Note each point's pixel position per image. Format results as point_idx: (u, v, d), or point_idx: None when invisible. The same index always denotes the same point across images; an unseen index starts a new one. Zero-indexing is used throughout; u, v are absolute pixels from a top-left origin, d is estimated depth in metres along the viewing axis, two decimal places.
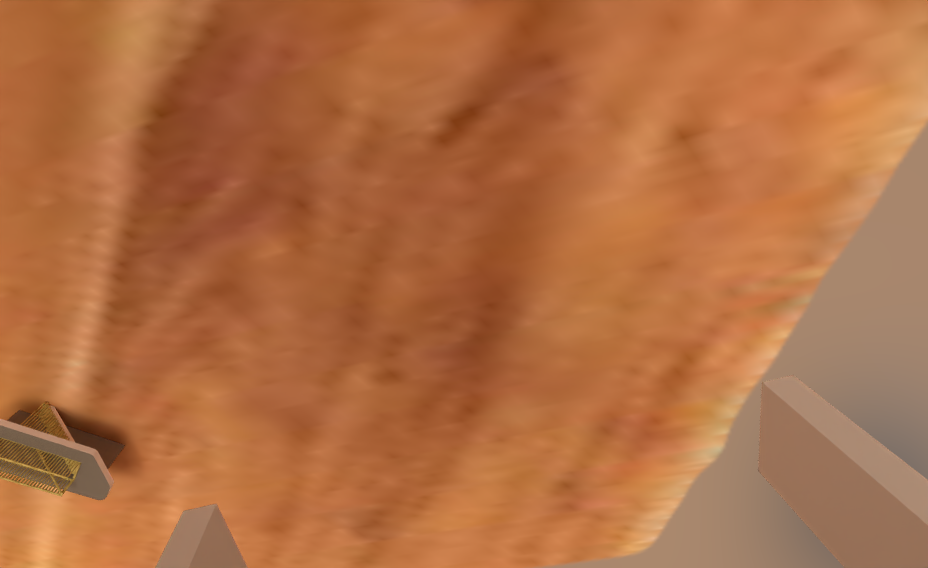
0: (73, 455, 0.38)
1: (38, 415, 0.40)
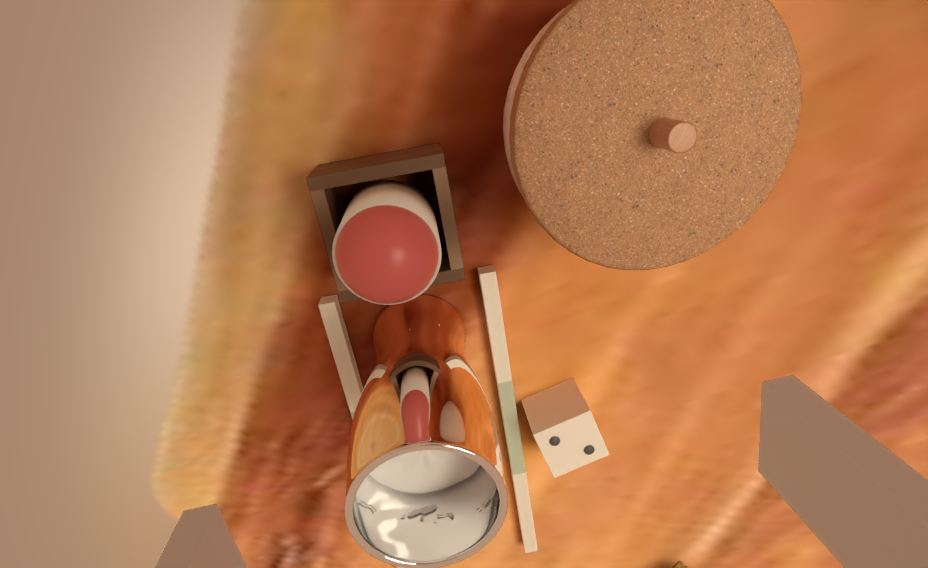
0: None
1: None
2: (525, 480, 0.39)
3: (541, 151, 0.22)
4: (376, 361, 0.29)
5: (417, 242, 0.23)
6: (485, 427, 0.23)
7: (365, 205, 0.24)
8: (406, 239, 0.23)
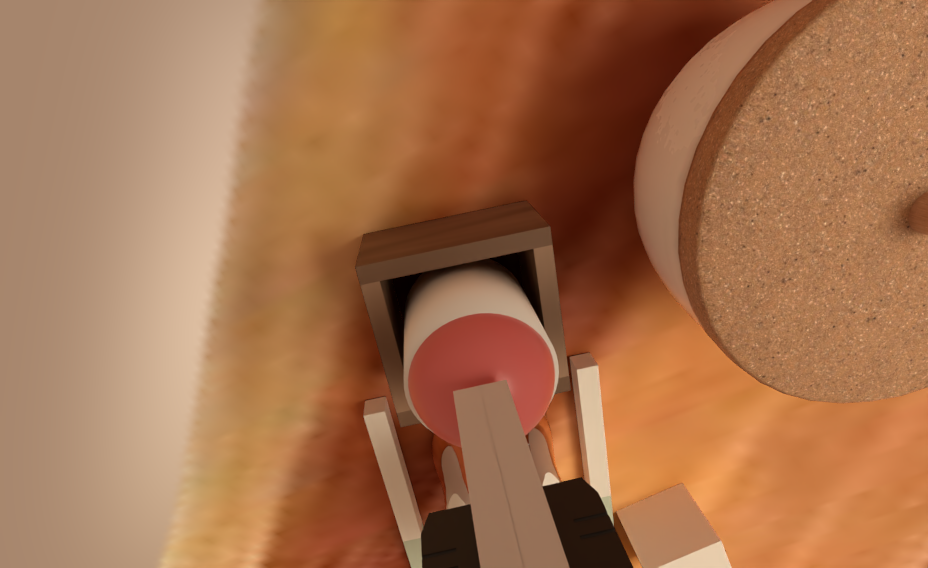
0: None
1: None
2: None
3: (741, 245, 0.14)
4: None
5: (535, 372, 0.15)
6: None
7: (453, 314, 0.16)
8: (520, 369, 0.15)
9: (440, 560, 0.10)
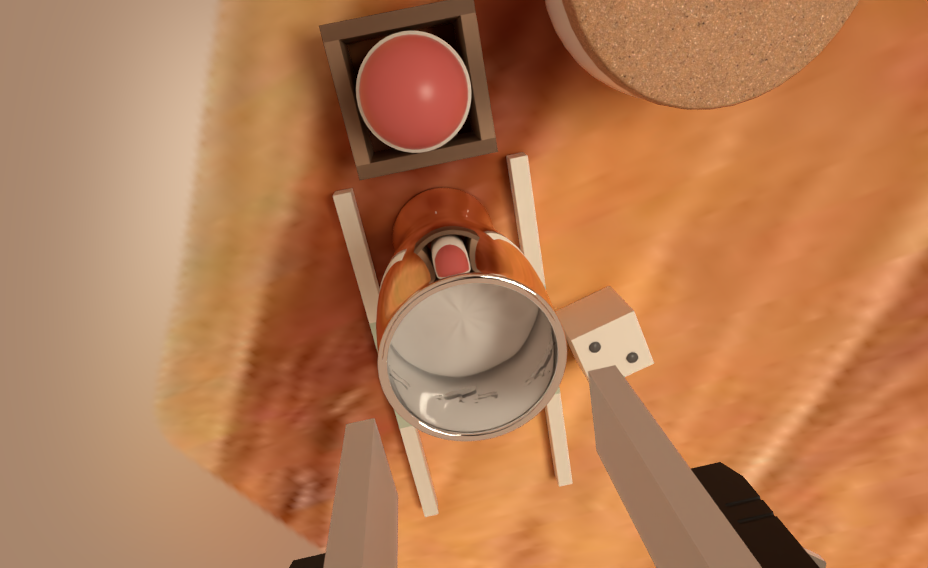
0: None
1: None
2: (559, 402, 0.36)
3: None
4: None
5: (448, 69, 0.22)
6: (535, 277, 0.20)
7: (390, 35, 0.22)
8: (436, 63, 0.21)
9: None
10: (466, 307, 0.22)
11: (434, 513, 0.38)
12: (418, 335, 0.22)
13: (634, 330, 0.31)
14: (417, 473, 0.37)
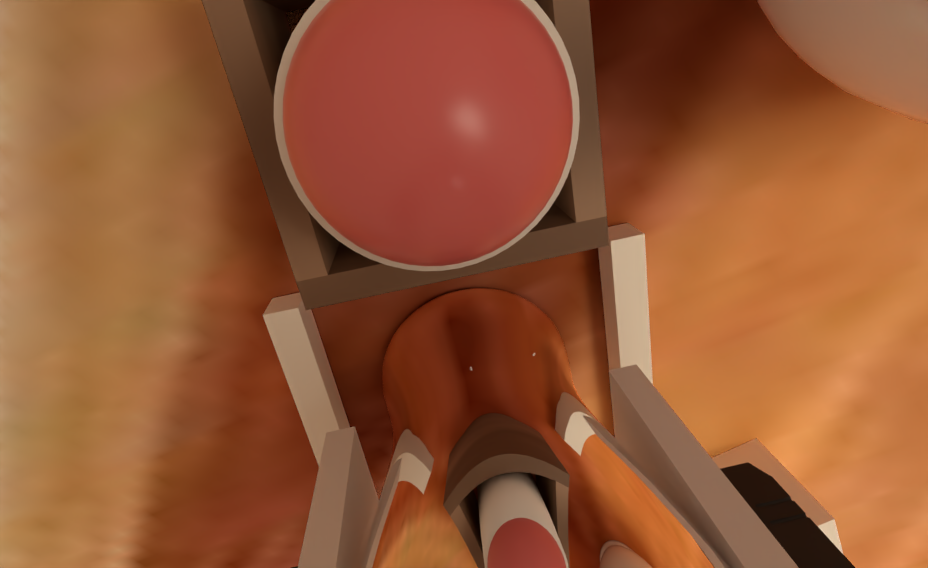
0: None
1: None
2: None
3: None
4: (396, 453, 0.12)
5: (535, 62, 0.07)
6: None
7: None
8: (502, 44, 0.07)
9: None
10: None
11: None
12: None
13: None
14: None
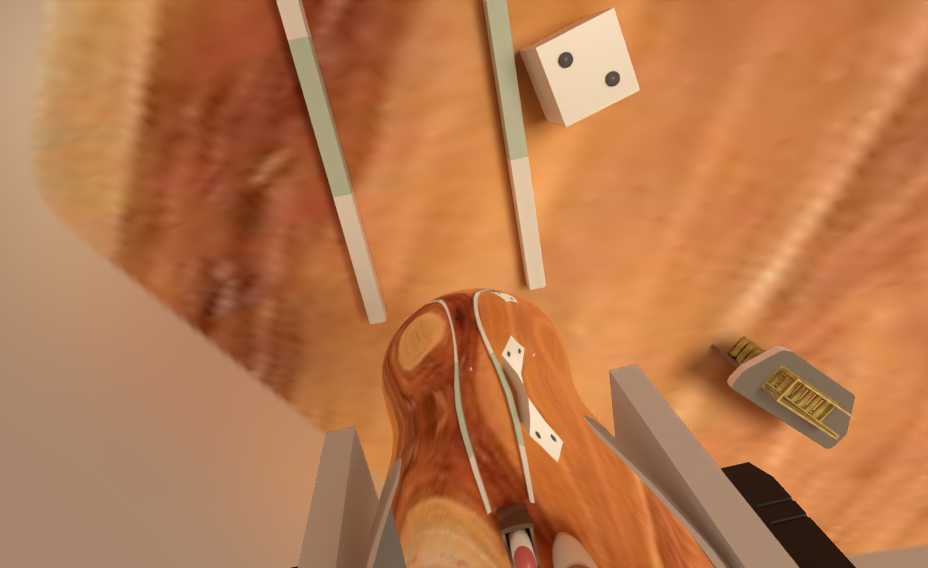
0: (837, 395, 0.34)
1: (763, 350, 0.35)
2: (527, 170, 0.30)
3: None
4: (396, 454, 0.12)
5: None
6: None
7: None
8: None
9: None
10: None
11: (381, 320, 0.32)
12: None
13: (614, 38, 0.25)
14: (358, 263, 0.31)
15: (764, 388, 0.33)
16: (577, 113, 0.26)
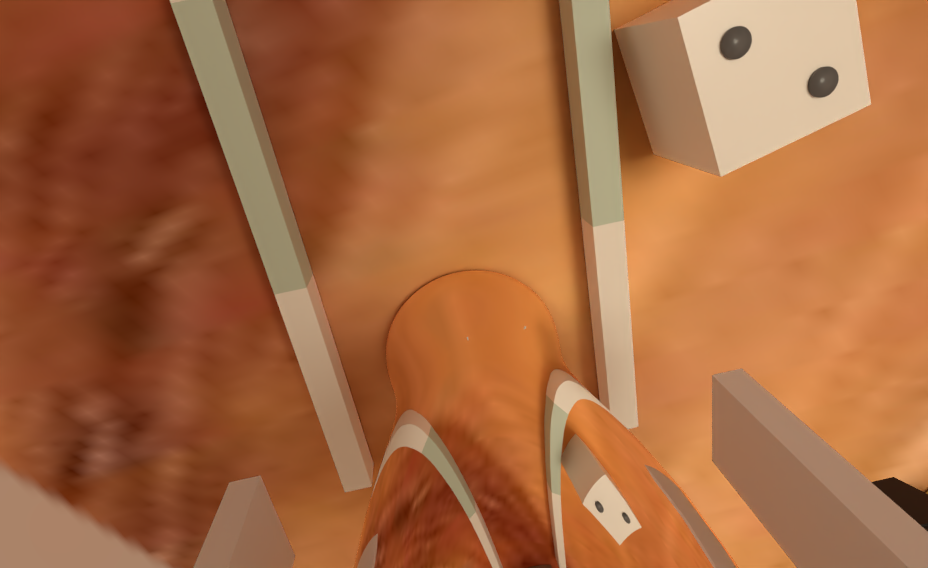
0: None
1: None
2: (622, 243, 0.17)
3: None
4: (400, 412, 0.13)
5: None
6: None
7: None
8: None
9: None
10: None
11: (363, 485, 0.19)
12: None
13: None
14: (322, 399, 0.18)
15: None
16: (745, 150, 0.13)
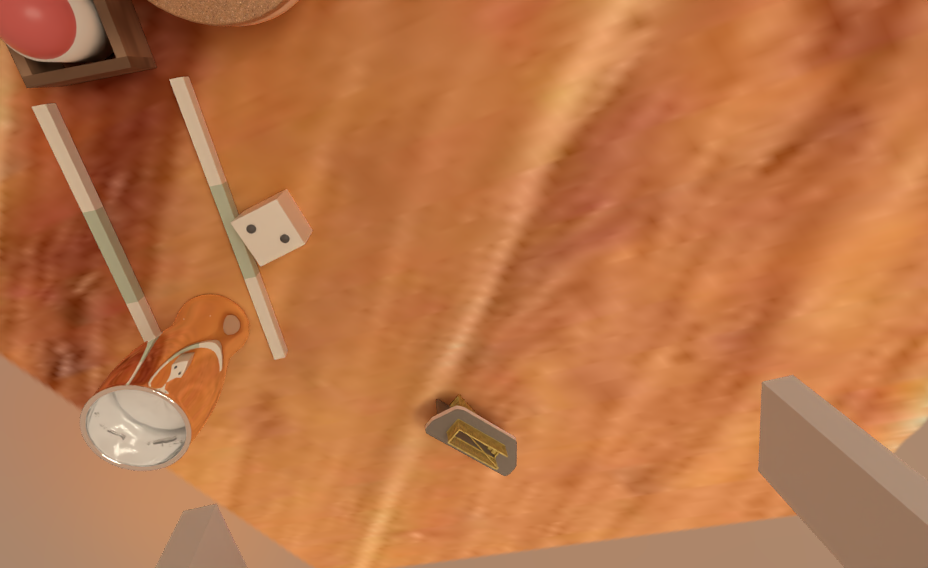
0: (503, 439, 0.50)
1: (464, 405, 0.51)
2: (257, 284, 0.45)
3: None
4: None
5: None
6: (185, 378, 0.35)
7: None
8: None
9: None
10: None
11: None
12: (138, 406, 0.37)
13: (281, 215, 0.40)
14: None
15: (447, 433, 0.48)
16: (266, 258, 0.42)
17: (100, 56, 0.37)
